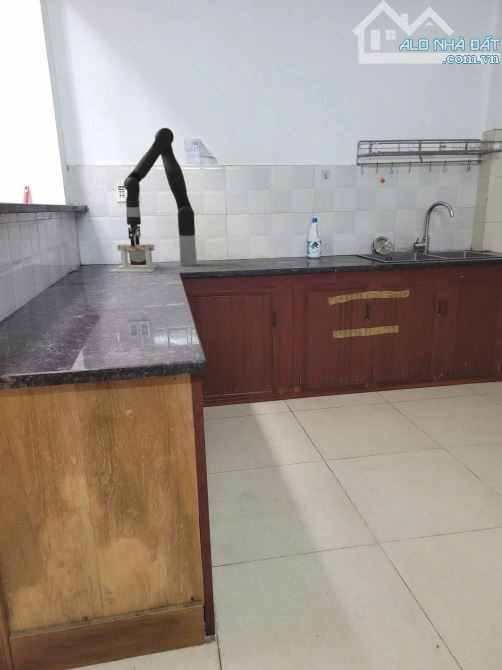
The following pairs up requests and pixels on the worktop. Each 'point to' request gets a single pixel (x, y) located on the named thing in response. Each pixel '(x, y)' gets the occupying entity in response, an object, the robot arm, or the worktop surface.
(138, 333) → the worktop surface
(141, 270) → the mat
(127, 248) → the rail
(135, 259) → the food container
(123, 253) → the rack
